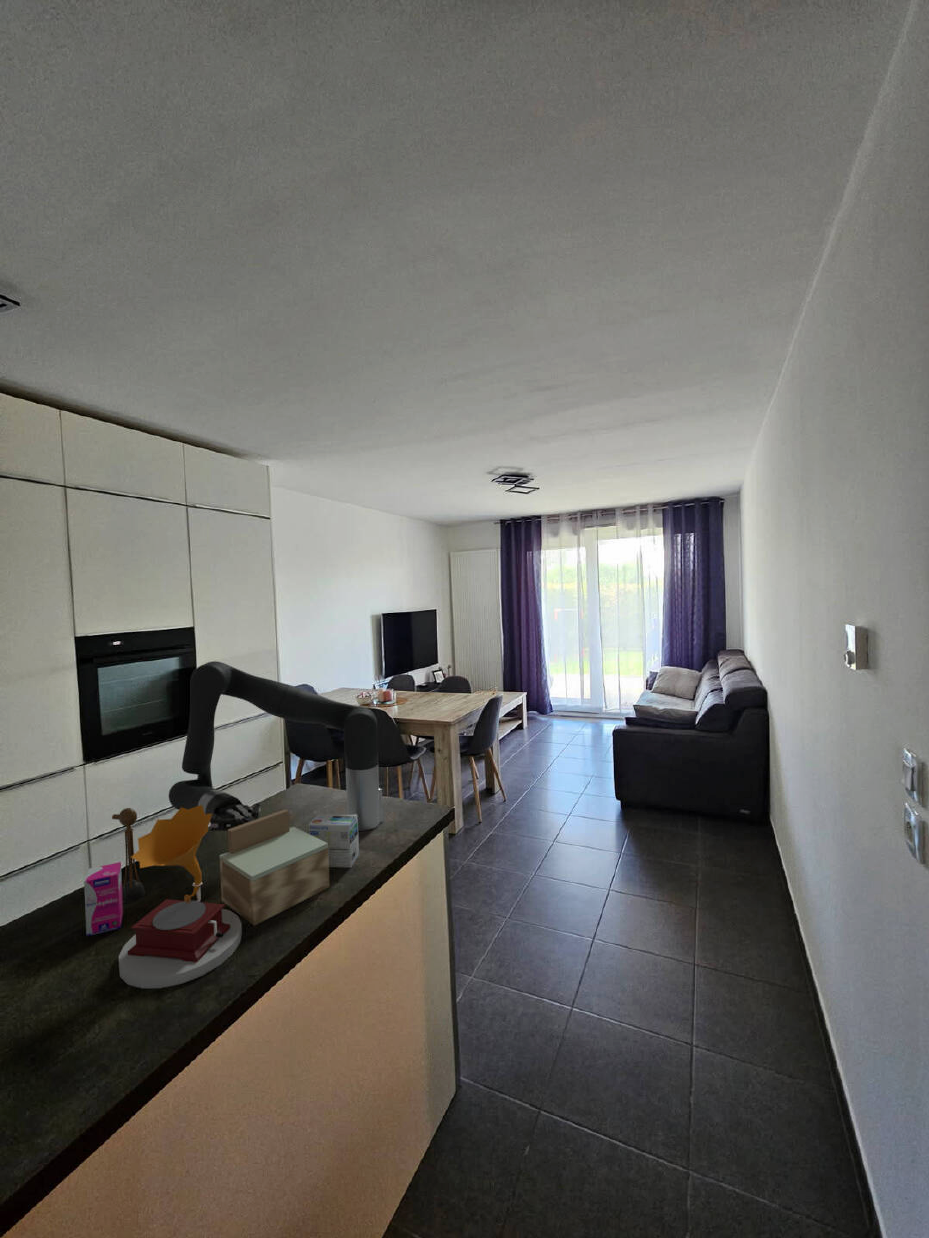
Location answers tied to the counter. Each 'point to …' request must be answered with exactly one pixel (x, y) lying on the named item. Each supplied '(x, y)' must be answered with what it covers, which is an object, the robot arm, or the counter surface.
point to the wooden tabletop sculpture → (133, 887)
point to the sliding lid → (268, 845)
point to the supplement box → (103, 899)
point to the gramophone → (178, 913)
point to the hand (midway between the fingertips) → (254, 826)
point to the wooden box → (274, 887)
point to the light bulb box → (337, 837)
